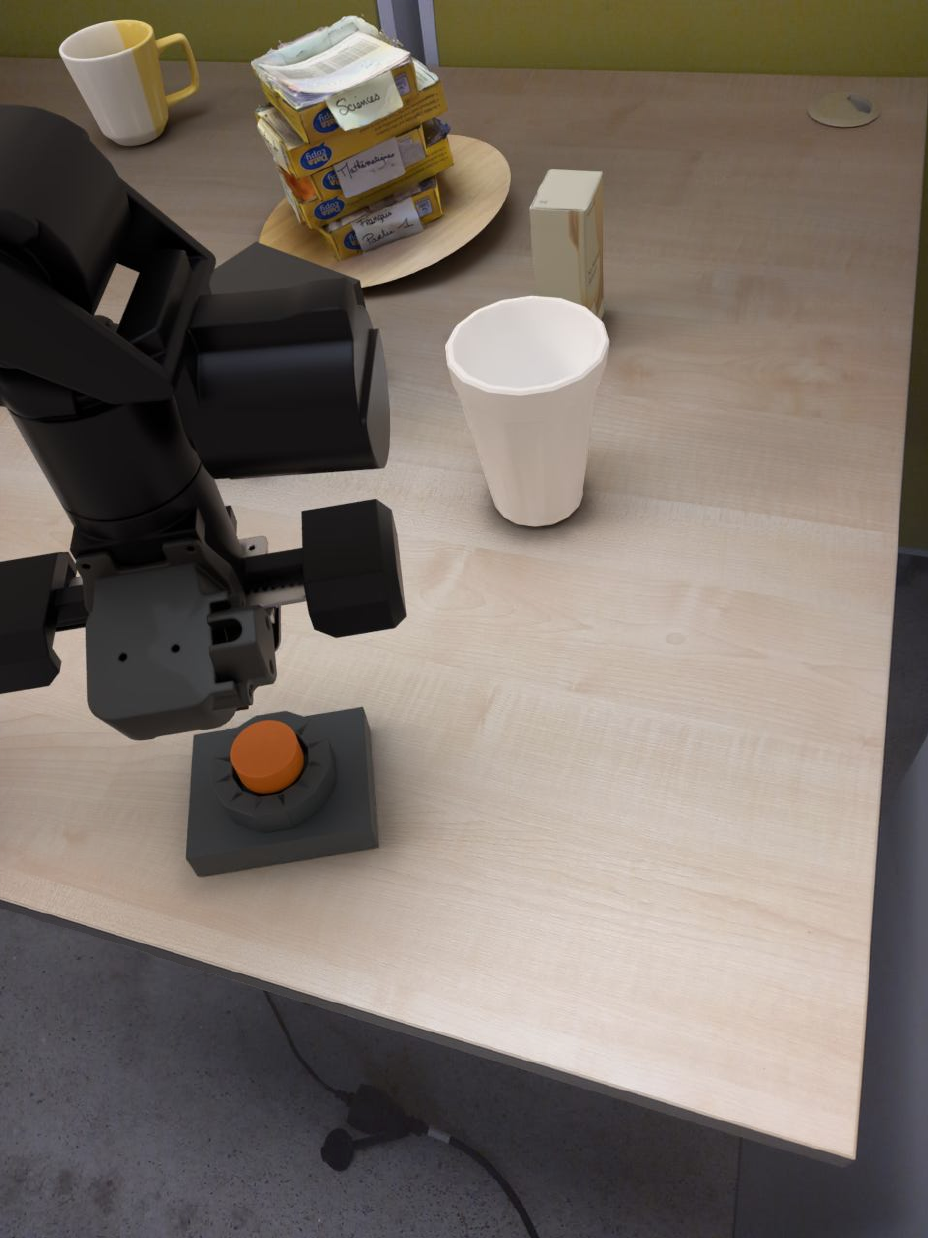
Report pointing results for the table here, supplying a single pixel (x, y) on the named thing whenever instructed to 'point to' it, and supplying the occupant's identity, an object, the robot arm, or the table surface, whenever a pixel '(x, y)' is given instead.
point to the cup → (530, 400)
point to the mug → (125, 78)
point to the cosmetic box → (569, 238)
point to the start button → (267, 756)
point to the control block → (284, 798)
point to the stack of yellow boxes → (369, 157)
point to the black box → (270, 272)
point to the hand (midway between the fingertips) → (241, 703)
